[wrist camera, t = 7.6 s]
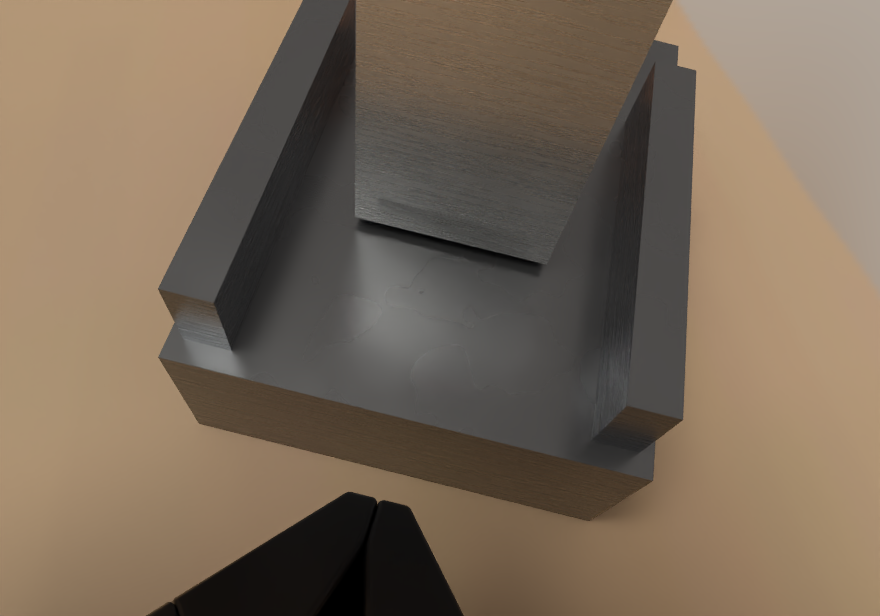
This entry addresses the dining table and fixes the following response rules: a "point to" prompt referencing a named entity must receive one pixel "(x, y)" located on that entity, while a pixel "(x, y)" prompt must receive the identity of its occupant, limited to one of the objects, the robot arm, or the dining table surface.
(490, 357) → the grey walled tray
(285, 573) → the robot arm
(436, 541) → the dining table surface
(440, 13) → the tapered wooden notched block
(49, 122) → the dining table surface
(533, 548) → the dining table surface
